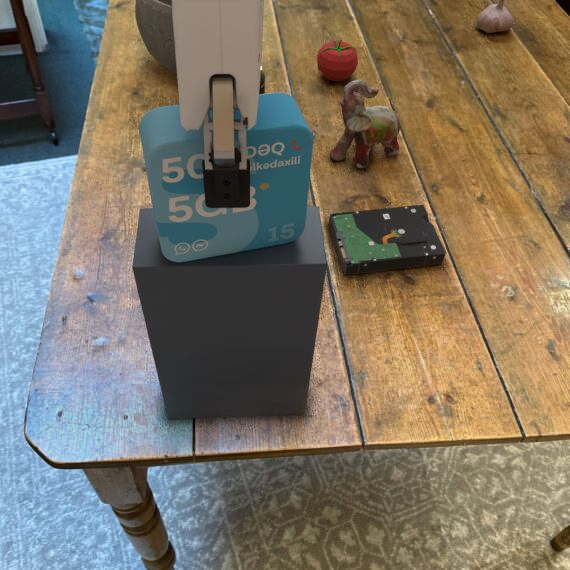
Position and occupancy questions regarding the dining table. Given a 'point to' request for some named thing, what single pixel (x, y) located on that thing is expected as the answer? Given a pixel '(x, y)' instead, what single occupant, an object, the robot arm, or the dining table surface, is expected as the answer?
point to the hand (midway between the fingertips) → (227, 168)
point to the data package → (263, 182)
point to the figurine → (365, 125)
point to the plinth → (232, 323)
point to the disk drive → (385, 239)
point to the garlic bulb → (495, 18)
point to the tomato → (337, 60)
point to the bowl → (157, 30)
